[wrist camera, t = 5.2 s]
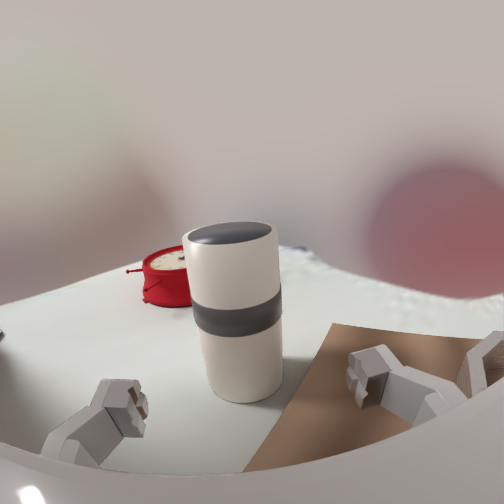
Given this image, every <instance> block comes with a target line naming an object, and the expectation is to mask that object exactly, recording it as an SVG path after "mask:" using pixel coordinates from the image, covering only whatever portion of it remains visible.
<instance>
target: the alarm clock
mask: <svg viewBox="0 0 504 504" xmlns="http://www.w3.org/2000/svg"><path fill="white" fill-rule="evenodd" d="M140 271H143V273H144V277H145V282H144V287H143V295H144V298H145V299H142V300H143V301H144V302H147V301H149V302H150V303H153V304H155V305H160V306H169V307H175V306H186V305H192V302H191V297H190V286H189V280H188V274H187V268H186V262H185V256H184V249H183V245H181V246H175V247H171V248H166V249H163V250H160V251H157V252H155V253H153V254H151V255H149V256H148V257H146V258H145V259H144V260H143V265H142V269H136V270H130V271H129V270H126V273H127V274H128V273H129V272H140Z"/></svg>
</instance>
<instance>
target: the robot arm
mask: <svg viewBox="0 0 504 504" xmlns="http://www.w3.org/2000/svg"><path fill="white" fill-rule="evenodd" d="M1 332H2V331H1V329H0V334H1ZM348 363H349V364H350V366H349V367H348V368H347V370H346V382H347V385H348V388H349V389H350V391H351V392H353V393H355V398H354V399H355V401H356V402H357V404H358V406H359V408H360V410H362V409H366V408H369V407H372V406H376V405H379V404H380V406H382V407H384V408H385V409H387V410H389V411H390V412H392V413H394V414H395V415H397V416H399V417H400V418H402V419H404V420H405V421H407V422H409V423H411V424H412V427H411V429H409V430H407V431H404V432H402V433H400V434H397V435H395V436H392V437H389V438H387V439H384V440H382V441H379V442H376V443H373V444H370V445H367V446H364V447H361V448H358V449H355V450H352V451H349V452H345V453H342V454H338V455H335V456H331V457H327V458H323V459H319V460H315V461H311V462H306V463H301V464H297V465H291V466H286V467H280V468H274V469H268V470H261V471H253V472H244V473H233V474H220V475H193V476H177V475H151V474H138V473H128V472H119V471H111V470H105V469H102V468H101V467H100V466H99V465H100V464H101V463H102V462H103V461H104V460H105V458H106V457H107V456H108V455H109V454H110V453H111V452H112V451H113V450H114V448H115V447H116V446H117V445H118V444H119V443H120V442H121V441H122V440H123V437H133V438H143V436H144V431H145V426H146V425H145V423H144V421H143V420H144V419H145V418H147V416H148V402H147V399H146V396H145V395H144V394H143V393H142V392H140V390H141V385H140V383H139V381H138V380H126V379H102V380H101V381H100V383H99V385H98V388H97V390H96V393H95V395H94V397H93V400H92V402H91V405H90V406H86V407H85V408H83V409H82V410H81V411H79V412H78V413H76V414H75V415H74V416H72V417H71V418H70V419H68V420H67V421H65V422H64V423H63V424H61V425H60V426H59V427H57V428H56V429H54V430H53V431H52V432H50V433H49V434H48V436H47V438H46V440H45V443H44V445H43V447H42V450H41V452H40V455H38V454H35V453H31V452H28V451H25V450H22V449H19V448H17V447H14V446H11V445H8V444H6V443H3V442H1V441H0V504H504V377H503V378H501V379H500V380H498V381H497V382H495V383H494V384H492V385H491V386H489V387H488V388H486V389H485V390H483V391H482V392H480V393H478V394H477V395H475V396H474V397H472V398H470V399H468V398H467V397H466V396H465V395H464V394H463V393H462V392H461V390H460V389H459V388H458V387H457V386H456V385H455V384H454V383H453V382H451V381H448V380H445V379H442V378H439V377H436V376H434V375H431V374H428V373H425V372H422V371H420V370H417V369H414V368H411V367H409V366H405V367H404V366H403V365H402V364H401V363H400V362H399V360H398V359H397V358H396V357H395V356H394V354H393V353H392V352H391V351H390V350H389V348H388V347H387V346H386V345H384V344H382V345H378V346H375V347H372V348H368V349H365V350H361V351H357V352H353V353H350V354H349V356H348Z"/></svg>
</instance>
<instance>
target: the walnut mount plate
mask: <svg viewBox="0 0 504 504" xmlns="http://www.w3.org/2000/svg"><path fill="white" fill-rule="evenodd" d="M482 340H483V339H468V338H454V337H442V336H432V335H422V334H412V333H403V332H394V331H386V330H378V329H371V328H363V327H356V326H349V325H342V324H335V323H333V324H332V326H331V328H330V330H329V332H328V334H327V336H326V338H325V340H324V341H323V343H322V345H321V347H320V349H319V351H318V353H317V355H316V356H315V358H314V360H313V362H312V364H311V366H310V367H309V369H308V371H307V373H306V374H305V376H304V378H303V380H302V381H301V383H300V385H299V387H298V388H297V390H296V392H295V393H294V395H293V397H292V398H291V400H290V402H289V403H288V405H287V407H286V408H285V410H284V411H283V413H282V415H281V416H280V418H279V419H278V421H277V422H276V424H275V426H274V427H273V429H272V430H271V432H270V433H269V435H268V436H267V438H266V439H265V441H264V442H263V444H262V445H261V447H260V448H259V449H258V451H257V452H256V454H255V455H254V457H253V458H252V459H251V461H250V462H249V464H248V465H247V466H246V468H245V469H244V471H243V472H242V473H244V472H253V471H261V470H268V469H274V468H280V467H286V466H291V465H297V464H301V463H306V462H311V461H315V460H319V459H323V458H327V457H331V456H335V455H338V454H342V453H345V452H349V451H352V450H355V449H358V448H361V447H364V446H367V445H370V444H373V443H376V442H379V441H382V440H384V439H387V438H389V437H392V436H395V435H397V434H400V433H402V432H404V431H407V430H409V429H411V427H412V424H411V423H409V422H407V421H405V420H404V419H402V418H400V417H399V416H397V415H395V414H394V413H392V412H390V411H389V410H387V409H385V408H384V407H382V406H380V404H379V405H376V406H372V407H369V408H366V409H362V410H360V408H359V406H358V404H357V402H356V401H355V399H354V398H355V393H353V392H351V391H350V389H349V388H348V385H347V382H346V370H347V368H348V367H349V366H350V364H349V363H348V356H349V354H350V353H353V352H357V351H361V350H365V349H368V348H372V347H375V346H378V345H382V344H384V345H386V346H387V347H388V348H389V350H390V351H391V352H392V353H393V354H394V356H395V357H396V358H397V359H398V360H399V362H400V363H401V364H402V365H403V366H404V367H405V366H409V367H411V368H414V369H417V370H420V371H422V372H425V373H428V374H431V375H434V376H436V377H439V378H442V379H445V380H448V381H451V382H453V383H455V381H456V378H457V376H458V374H459V371H460V369H461V366H462V363H463V361H464V358H465V356H466V353H467V352H468V351H469V350H471V349H472V348H473V347H475V346H476V345H477V344H478V343H480V342H481V341H482ZM485 376H486V382H487V388H488V387H489V386H491V385H492V384H494V383H495V382H497V381H498V380H500V379H501V378H503V377H504V371H497V370H489V371H488V372H487V373H486V374H485Z"/></svg>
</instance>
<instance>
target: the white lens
mask: <svg viewBox="0 0 504 504" xmlns="http://www.w3.org/2000/svg"><path fill="white" fill-rule="evenodd" d="M182 242H183V249H184V256H185V262H186V268H187V274H188V280H189V286H190V297H191V302H192V308H193V313H194V318H195V322H196V324H197V329H198V334H199V339H200V343H201V348H202V353H203V357H204V362H205V366H206V371H207V375H208V380H209V384H210V387H211V389H212V391H213V392H214V393H215V394H216V395H217V396H219V397H220V398H222V399H224V400H227V401H230V402H234V403H252V402H257V401H260V400H263V399H265V398H267V397H269V396H271V395H272V394H273V393H275V392H276V391H277V390H278V388H279V387H280V385H281V383H282V380H283V358H282V322H281V315H282V297H281V283H280V271H279V250H278V231H277V227H276V226H274V225H272V224H268V223H264V222H255V221H254V222H253V221H237V222H226V223H219V224H213V225H208V226H204V227H200V228H197V229H194V230H192V231H190V232H188V233H186V234H185V235H184V236H183V237H182Z"/></svg>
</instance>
